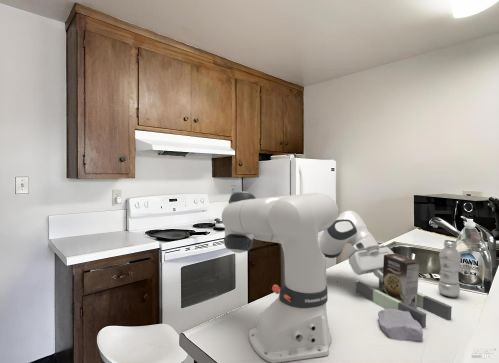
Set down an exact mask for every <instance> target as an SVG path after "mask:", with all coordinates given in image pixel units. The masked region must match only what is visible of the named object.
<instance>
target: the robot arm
mask: <svg viewBox="0 0 499 363" xmlns="http://www.w3.org/2000/svg"><path fill="white" fill-rule="evenodd" d="M228 199H229V200H228V204H227V205H226V206H225V207H224V208H223V210H222V212H221V222H222V224H223V226H224V238H223V245H224V247H225V248H226V249H227V250H229V251H231V252H233V253H235V254H242V253H246V252H249V251H250V250H251V249H252V248H253V243H254V239H255V240H256V241H257V240H258V241H263V242H267V243H268V242H270V243H275V244H276V243H278V244H281V247H282V249H283V251H282V252H283V256H284V257H283V258H284V282H283V284H282V287H281V286H279V285H278V284H273V285H272V287H271V290H272V292H274V293H275V294H276V295H278V297H277V298H276V299H275V300H273V302H271V303H270V304H269V306H267V307H266V308H265V309H264V310H263V311H262V312H260V314H259V316H258V320H257V326H256V327H253V328H251V329H249V332H248V341H249V343H250V346H251V348H253V350H254V352H255V353H256V354H257V355H258V356H259V357H260V358H262V359H263V360H265V361H266V362H268V363H284V362H292V361H299V360H304V359H312V358H313V359H314V358H318V357H319V358H320V357H327V356H328V355H329V353H330V351H329V346H330V345H331V344H332V334H331V330H330V326H329V322H328V320H329V319H328V314H327V310H328V309H327V302H328V297H329V296H328V294H329V293H328V285H327V258H328V259H335V258H338V257H339V256H340V255H341V254H342V251H343V249H344V248H345V246H346V245H347V244H350V245H351V247H350V248H349V249H348V250H347V251H346V252H345V257H346V258H348V262H349V265H350V267H351V269H352V271H353V273H354V274H356V275H358V276H362V275H366V274H367V275H368V274H371V273H373V274H374V276H375V277H377V278H378V280H379V279H380V280H381V282H382V283H383V264H384V255H387V254H395V253H394V251H393V250H391V248H390V247H387V246H386V245H384V244H383V245H379V243H378V242H377V240H376V238H375V237H374V236H373V233H371V232H370V231H369V229H368V226H367V225H366V223H365V222H364V220H363V219H362V217H361V216H360V215H359V214H358V213H357V212H356V211H354V210H345V211H343V212H341V213H340V214H339V207H338V204H337V202H336V200H334V198H332V197H331V196H329V195H326V194H323V193H319V192H313V193H312V192H311V193H310V192H309V193H302V194H292V195H281V196H280V195H279V196H272V197H271V196H270V197H260V198H258V197H257V198H256V196H255V195H254V194H253V193H251V192H248V191H236V192H233V193H232V194H231V195H230V197H229V198H228ZM320 232H322V234H321V235H319V233H320ZM389 248H390V249H389Z"/></svg>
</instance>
